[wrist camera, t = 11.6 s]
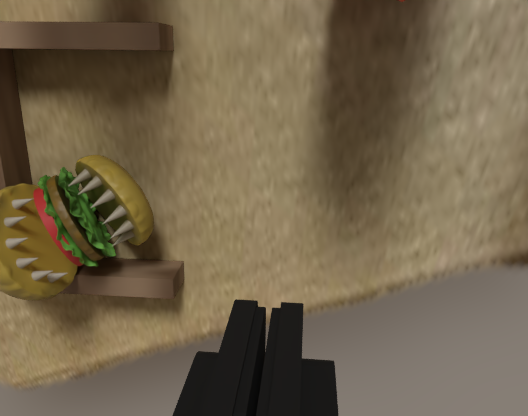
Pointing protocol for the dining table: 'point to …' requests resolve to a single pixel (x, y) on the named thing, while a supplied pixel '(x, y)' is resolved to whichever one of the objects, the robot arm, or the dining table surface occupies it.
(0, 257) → the hamburger
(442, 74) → the dining table surface
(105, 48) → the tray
